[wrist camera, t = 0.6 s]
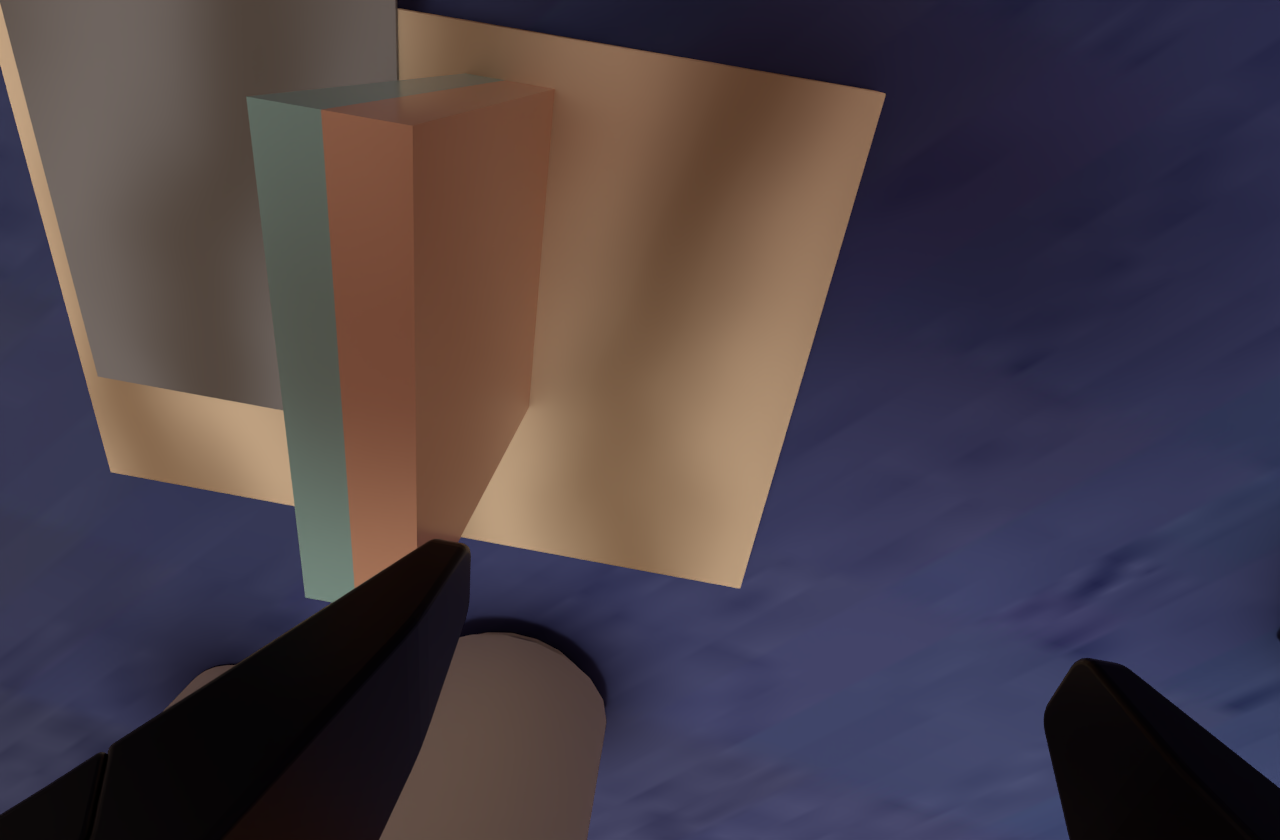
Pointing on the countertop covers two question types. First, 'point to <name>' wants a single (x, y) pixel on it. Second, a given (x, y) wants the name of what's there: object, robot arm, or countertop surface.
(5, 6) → the board
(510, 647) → the can
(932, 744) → the countertop surface
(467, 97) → the tile
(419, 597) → the robot arm
